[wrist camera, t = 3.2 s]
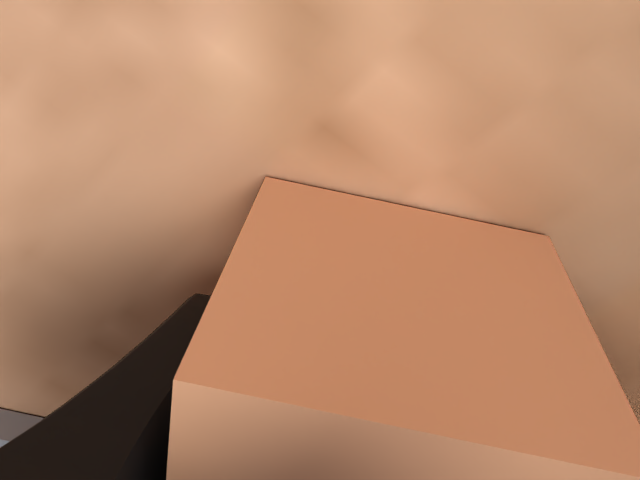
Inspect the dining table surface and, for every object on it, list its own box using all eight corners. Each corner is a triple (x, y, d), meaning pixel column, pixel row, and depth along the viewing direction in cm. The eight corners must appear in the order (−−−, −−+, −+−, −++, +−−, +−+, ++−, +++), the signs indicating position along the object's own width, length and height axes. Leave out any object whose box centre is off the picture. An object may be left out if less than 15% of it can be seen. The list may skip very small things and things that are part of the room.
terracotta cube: (548, 235, 10) (667, 483, 6) (462, 432, 13) (499, 705, 8) (265, 176, 10) (173, 379, 6) (235, 384, 13) (155, 634, 8)
